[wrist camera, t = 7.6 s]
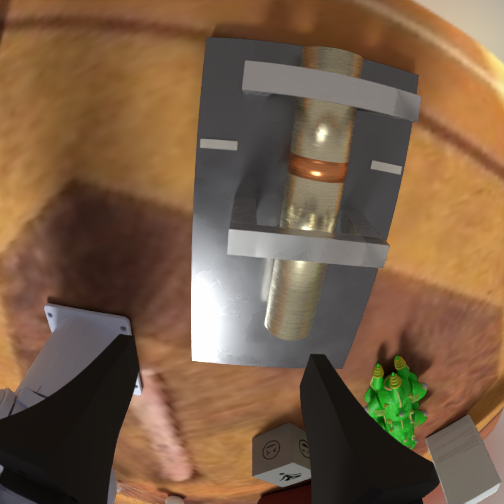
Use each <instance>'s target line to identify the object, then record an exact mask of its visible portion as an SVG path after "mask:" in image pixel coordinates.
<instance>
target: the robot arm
mask: <svg viewBox="0 0 504 504" xmlns="http://www.w3.org/2000/svg"><path fill="white" fill-rule="evenodd" d="M44 309H45V312H46V316H47V319H48V322H49V325H50V328H51V332H52V334H51V336H50V337H49V339H48V340H47V342H46V343H45V345H44V346H43V348H42V349H41V351H40V352H39V354H38V356H37V357H36V359H35V360H34V362H33V363H32V365H31V367H30V368H29V370H28V372H27V373H26V375H25V376H24V378H23V380H22V381H21V383H20V385H19V387H18V388H17V390H16V392H14V393H13V392H12V391H11V390H10V389H9V388H5V389H0V504H114V502H115V498H116V492H117V483H116V475H115V471H114V469H113V467H112V463H113V458H114V453H115V448H116V443H117V439H118V436H119V433H120V429H121V426H122V423H123V421H124V418H125V415H126V412H127V409H128V407H129V404H130V401H131V398H132V396H133V395H138V396H139V395H141V394H142V391H143V390H142V386H141V381H140V376H139V366H138V360H137V353H136V347H135V340H134V336H132V333H131V327H130V321H129V319H128V318H126V317H124V316H119V315H112V314H106V313H100V312H94V311H88V310H83V309H77V308H72V307H66V306H61V305H56V304H51V303H47V304H46V305H45V307H44ZM122 326H123V327H125V328H123V327H122ZM300 400H301V410H302V416H303V421H304V427H305V432H306V437H307V443H308V448H309V455H310V467H311V494H312V498H311V504H423V501H422V498H423V497H425V496H426V495H427V494H429V493H430V492H431V491H432V490H434V489H435V488H436V487H437V486H438V484H439V483H440V480H439V477H438V474H437V470H436V468H435V466H434V464H433V462H431V461H429V460H427V459H425V458H424V457H422V456H420V455H418V454H417V453H415V452H413V451H412V450H410V449H409V448H408V447H406V446H405V445H403V444H402V443H400V442H399V441H398V440H397V439H395V438H394V437H393V436H392V435H390V434H389V433H388V432H387V431H386V430H384V429H383V428H382V427H381V426H380V425H379V424H378V423H377V422H376V421H375V420H374V419H373V418H372V417H371V416H370V415H369V414H368V413H367V411H366V410H365V409H364V408H363V407H362V406H361V404H360V403H359V402H358V401H357V400H356V398H355V397H354V396H353V394H352V393H351V392H350V390H349V389H348V388H347V386H346V385H345V384H344V382H343V381H342V379H341V378H340V376H339V375H338V373H337V372H336V370H335V369H334V367H333V366H332V364H331V363H330V361H329V360H328V358H327V356H326V355H325V354H310V357H309V360H308V363H307V366H306V369H305V372H304V375H303V378H302V381H301V384H300ZM447 504H450V503H447Z"/></svg>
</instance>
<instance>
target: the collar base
mask: <svg viewBox="0 0 504 504" xmlns="http://www.w3.org/2000/svg"><path fill="white" fill-rule="evenodd" d="M304 47H305V46H298V45H292V44H285V43H277V42H269V41H260V40H249V39H236V38H217V37H207V40H206V49H205V58H204V67H203V76H202V87H201V97H200V109H199V121H198V134H197V149H196V165H195V183H194V205H193V233H192V360H193V361H202V362H212V363H222V364H234V365H247V366H262V367H281V368H306V366H307V363H308V360H309V357H310V354H325V355H326V356H327V358H328V360H329V361H330V363H331V364H332V366H333V367H334V369H342V368H343V366H344V364H345V361H346V359H347V356H348V354H349V351H350V348H351V346H352V343H353V341H354V338H355V335H356V333H357V330H358V327H359V325H360V322H361V319H362V316H363V313H364V311H365V308H366V305H367V302H368V299H369V296H370V293H371V290H372V287H373V284H374V281H375V277H376V274H377V271H378V268H383V267H384V264H385V261H386V257H387V254H388V251H389V247H390V245H389V244H388V243H387V242H386V240H387V237H388V233H389V229H390V226H391V222H392V218H393V214H394V210H395V206H396V202H397V198H398V193H399V189H400V184H401V180H402V175H403V171H404V166H405V161H406V156H407V150H408V145H409V139H410V134H411V128H412V122H418V117H419V110H420V103H421V96H419V95H416V94H417V85H418V77H419V75H416V74H413V73H410V72H407V71H404V70H401V69H398V68H394V67H391V66H388V65H384V64H381V63H377V62H374V61H370V60H366V59H363V66H362V75H361V79H358V78H354V77H350V76H345V75H341V74H336V73H331V72H326V71H320V70H315V69H309V68H303V67H301V59H302V50H303V48H304ZM297 97H301V98H308V99H314V100H320V101H325V102H331V103H336V104H341V105H346V106H351V107H356V108H357V113H356V120H355V127H354V133H353V139H352V145H351V151H350V157H349V164H348V170H347V175H346V181H345V185H344V190H343V196H342V201H341V206H340V211H339V215H338V220H337V225H336V230H335V233H331V232H322V231H313V230H304V229H294V228H284V227H280V220H281V213H282V206H283V199H284V192H285V185H286V177H287V169H288V161H289V154H290V148H291V140H292V133H293V125H294V117H295V109H296V101H297ZM275 259H283V260H294V261H306V262H317V263H328V265H327V269H326V274H325V278H324V282H323V286H322V290H321V294H320V298H319V302H318V306H317V309H316V313H315V317H314V321H313V324H312V328H311V331H310V333H309V335H308V336H307V337H305V338H303V339H300V340H295V341H290V340H283V339H280V338H277V337H275V336H274V335H272V334H271V333H270V332H269V331H268V330H267V329H266V327H265V317H266V311H267V305H268V299H269V292H270V286H271V280H272V273H273V267H274V260H275Z"/></svg>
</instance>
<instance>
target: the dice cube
mask: <svg viewBox="0 0 504 504" xmlns="http://www.w3.org/2000/svg"><path fill="white" fill-rule="evenodd" d="M252 476H253V477H256V478H258V479H261V480H264V481H266V482H269V483H272V484H275V485H277V486H280V487H285V486H288V485H291V484H295V483H298V482H300V481H303V480H306V479H309V478H311V467H310V455H309V448H308V443H307V437H306V432H305V431H304V430H302V429H300V428H298V427H297V426H295V425H293V424H292V423H290V422H288V423H286V424H284V425H282V426H280V427H277V428H275V429H273V430H271V431H268V432H266V433H264V434H261V435H259V436H256V437H254V438H252Z"/></svg>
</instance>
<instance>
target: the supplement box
mask: <svg viewBox="0 0 504 504" xmlns="http://www.w3.org/2000/svg"><path fill="white" fill-rule="evenodd" d="M425 440H426V443H427V446H428V449H429V452H430V455H431V457H432V460H433V463H434V466H435V468H436V470H437V474H438V477H439V480H440V483H441V486H442V489H443V492H444V495H445V498H446V501H447V503H450V504H476V503H478V502H479V501H481V500H483V499H484V498H486V497H488V496H490V495H491V494H493V493H495V492H496V491H497V490H498V488H499V485H500V483H501V479H500V477H499V475H498V474H497V471H496V469H495V467H494V464H493V462H492V460H491V458H490V455H489V453H488V451H487V449H486V447H485V444H484V442H483V440H482V438H481V436H480V434H479V432H478V430H477V428H476V426H475V424H474V422H473V420H472V418H471V417H470V415H469V414H467V415H466V416H464V417H463V418H461V419H460V420H458V421H456V422H454V423H453V424H451V425H449V426H448V427H446V428H444V429H442V430H440V431H439V432H437V433H435V434H433V435H431V436H429V437H427V438H426V439H425Z"/></svg>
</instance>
